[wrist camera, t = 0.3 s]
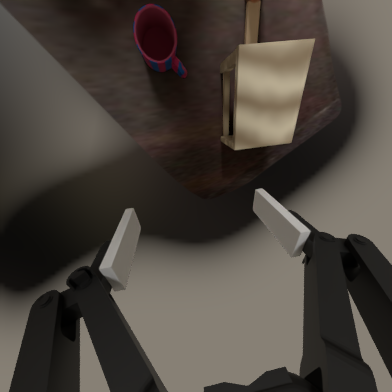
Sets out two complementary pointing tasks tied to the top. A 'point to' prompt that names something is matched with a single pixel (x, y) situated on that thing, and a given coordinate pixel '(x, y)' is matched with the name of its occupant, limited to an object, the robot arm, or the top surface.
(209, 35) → the top surface
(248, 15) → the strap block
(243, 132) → the wooden holder
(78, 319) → the robot arm
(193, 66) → the top surface
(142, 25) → the mug
